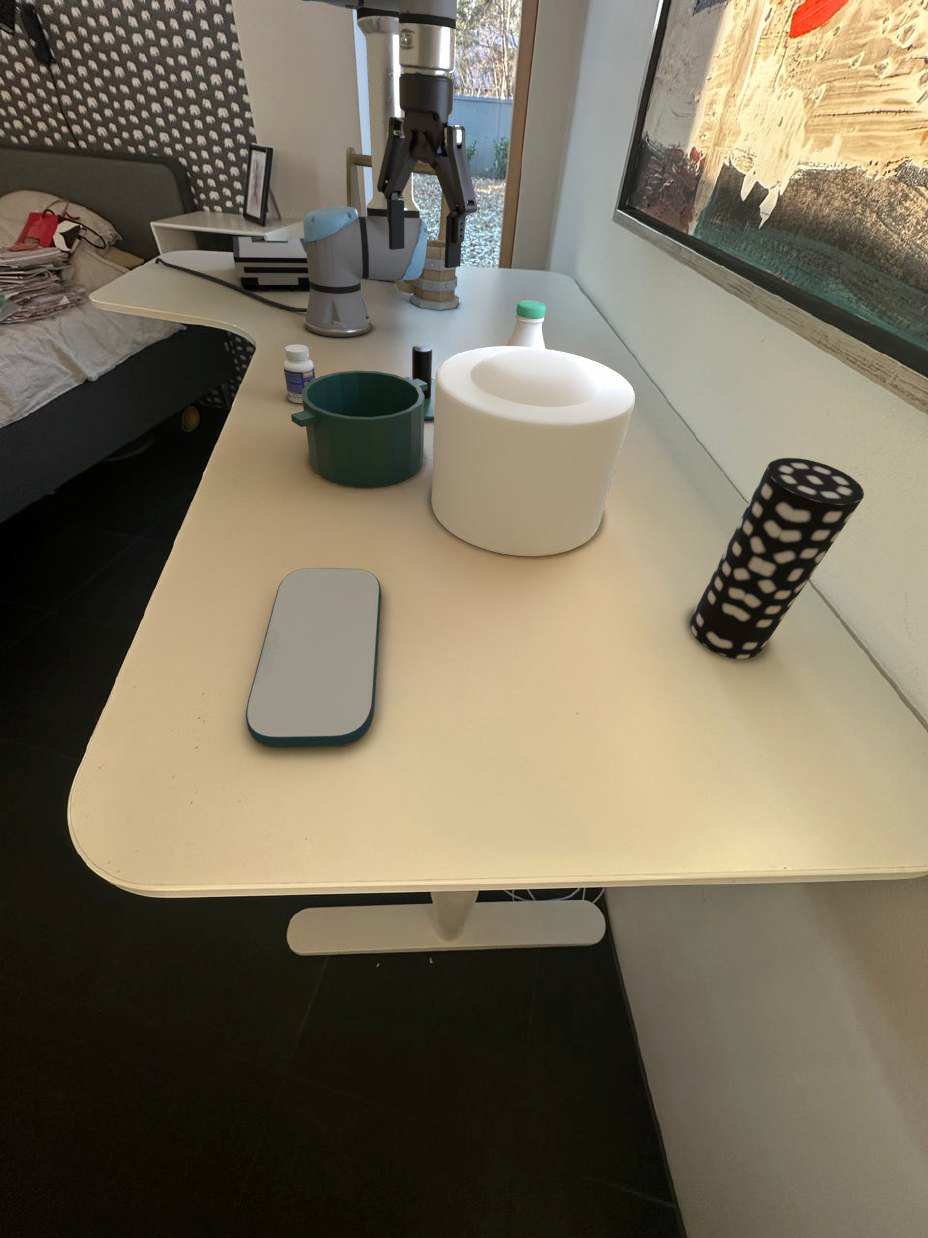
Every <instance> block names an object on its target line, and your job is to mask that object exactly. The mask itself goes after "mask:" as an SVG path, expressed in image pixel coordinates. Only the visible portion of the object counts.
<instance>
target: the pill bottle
mask: <svg viewBox="0 0 928 1238" xmlns="http://www.w3.org/2000/svg"><path fill="white" fill-rule="evenodd" d="M284 353H285V358H286V359H285V360H284V362H283V372H284V379H285V386H286V392H287V393H286V394H287V398H288V400H289V401H291V403H294V404H301V405H303V402H302V393H301V391H302V389H303V388H304V387H305V386H306V385H307V383H309V382H310V381H312V380H314V379H316V373H315V364H314V362H313V361H312V360H311V359H310V358H309V357H310V351H309V347H308V346H306V345H305V344H304V345H303V344H298V343H297V344H296V343H295V344H288V345H287V346H285V347H284Z"/></svg>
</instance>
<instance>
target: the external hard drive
mask: <svg viewBox="0 0 928 1238" xmlns="http://www.w3.org/2000/svg"><path fill="white" fill-rule="evenodd" d="M381 604H382V588H381V585H380V581H379V579H378V577H377V576H376V575H375V574H374V573H372V572H371V571H369V570H366V569H361V568H343V567H342V568H339V567H332V568H331V567H308V568H307V567H306V568H305V567H304V568H299V569H296V570H293V571H291V572H289V573H288V574H286V576H284V577H283V579H282V580H281V582H280V583H279V585H278V588H277V590H276V594H275V599H274V602H273V605H272V610H271V613H270V617H269V621H268V624H267V628H266V632H265V636H264V640H263V644H262V647H261V651H260V653H259V654H260V655H259V659H258V662H257V666H256V670H255V674H254V677H253V681H252V684H251V689H250V692H249V696H248V700H247V703H246V704H247V705H246V709H245V722H246V726H247V729H248V732H249V734H250V736H251V737H252V739H253V740H255V741H256V742H257V743H259V744H261V745H263V746H265V747H266V746H267V747H270V748H318V747H319V748H321V747H323V748H324V747H342V746H347V745H351V744H352V743H356V742H357V741H358V740H360V739H361V738H362V737H364V735H365V734H366V733H367V732H368V730H369V728H370V727H371V725H372V722H373V719H374V714H375V706H376V692H377V691H376V690H377V689H376V688H377V672H378V659H379V658H378V657H379V640H380V621H381V608H382V605H381Z"/></svg>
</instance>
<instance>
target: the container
mask: <svg viewBox="0 0 928 1238" xmlns="http://www.w3.org/2000/svg"><path fill="white" fill-rule="evenodd" d="M635 403H636V394H635V391H634V388H633V386H632V385H631V383H630V382H629V381H628V380H627V379H625V378H624V377H623V376H622V374H620V373H618V372H617V371H615V370H613V369H611V368H610V367H608V366H606V365H604V364H602V363H600V362H597V361H594V360H591V359H589V358H586V357H583V356H579V355H576V354H573V353H569V352H564V351H560V350H556V349H555V350H554V349H549V348H545V349H542V348H534V347H520V346H506V345H504V346H503V345H500V346H488V347H481V348H480V347H479V348H474V349H470V350H466V351H462V352H459V353H457V354H455V355H452V356H450V357H449V358H447V359H445V360H444V361H443V362H442V363H441V364H440V365H439V366H438V369H437V370H436V373H435V406H434V419H433V438H432V439H433V440H432V441H433V443H432V468H431V469H432V471H431V502H430V503H431V508H432V512H433V513H434V515H435V517H436V519H437V520H438V521H439V523H440V525H442V526H443V527H444V528H445V529H446V530H447V531H448V532H450V533H451V534H452V535H454V536H455V537H457V538H459V540H460V539H461V540H462V541H464V542H465V543H468V544H470V545H472V546H475V547H477V548H481V549H483V550H486V551H489V552H494V553H498V554H503V555H508V556H519V557H542V556H543V557H545V556H552V555H557V554H562V553H565V552H569V551H573V550H574V549H577V548H578V547H581V546H582V545H584V544H586V543H587V542H589V541H590V540H591V539H592V538H593V537H594V535H595V534H596V533H597V531H598V529H599V528H600V525H601V521H602V518H603V515H604V511H605V507H606V504H607V501H608V498H609V493H610V490H611V487H612V484H613V480H614V476H615V473H616V469H617V466H618V462H619V458H620V456H621V452H622V449H623V445H624V442H625V439H626V435H627V432H628V428H629V425H630V422H631V417H632V415H633V410H634V407H635Z"/></svg>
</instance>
